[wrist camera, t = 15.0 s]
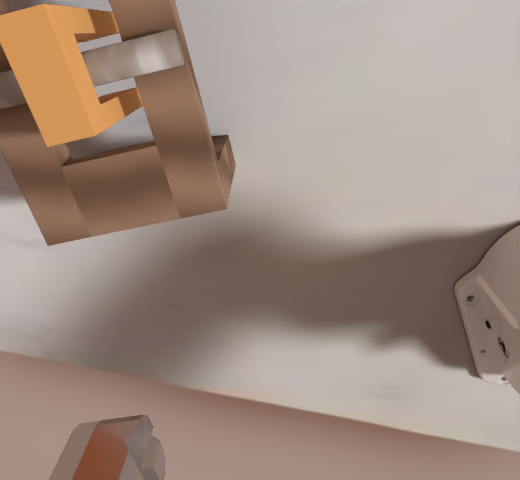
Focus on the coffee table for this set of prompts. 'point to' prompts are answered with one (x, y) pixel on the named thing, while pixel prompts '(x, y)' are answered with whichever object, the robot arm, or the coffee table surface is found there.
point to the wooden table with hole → (131, 158)
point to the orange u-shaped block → (62, 70)
